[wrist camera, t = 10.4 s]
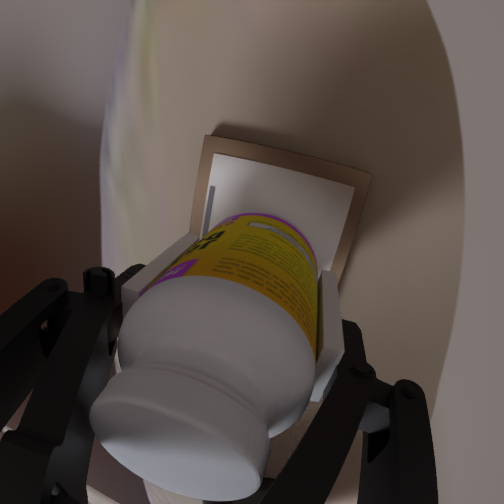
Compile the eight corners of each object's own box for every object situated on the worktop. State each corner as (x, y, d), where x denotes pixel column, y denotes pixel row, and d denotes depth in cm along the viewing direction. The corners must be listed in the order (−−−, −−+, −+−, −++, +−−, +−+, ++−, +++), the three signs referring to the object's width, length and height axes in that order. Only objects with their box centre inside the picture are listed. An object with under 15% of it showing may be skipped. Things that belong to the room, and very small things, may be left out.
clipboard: (299, 373, 23) (297, 392, 21) (181, 339, 24) (170, 355, 22) (369, 173, 17) (376, 177, 15) (210, 134, 18) (197, 134, 16)
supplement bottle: (243, 183, 16) (80, 296, 4) (341, 255, 17) (372, 470, 5) (185, 272, 19) (50, 425, 7) (271, 332, 19) (219, 523, 7)
